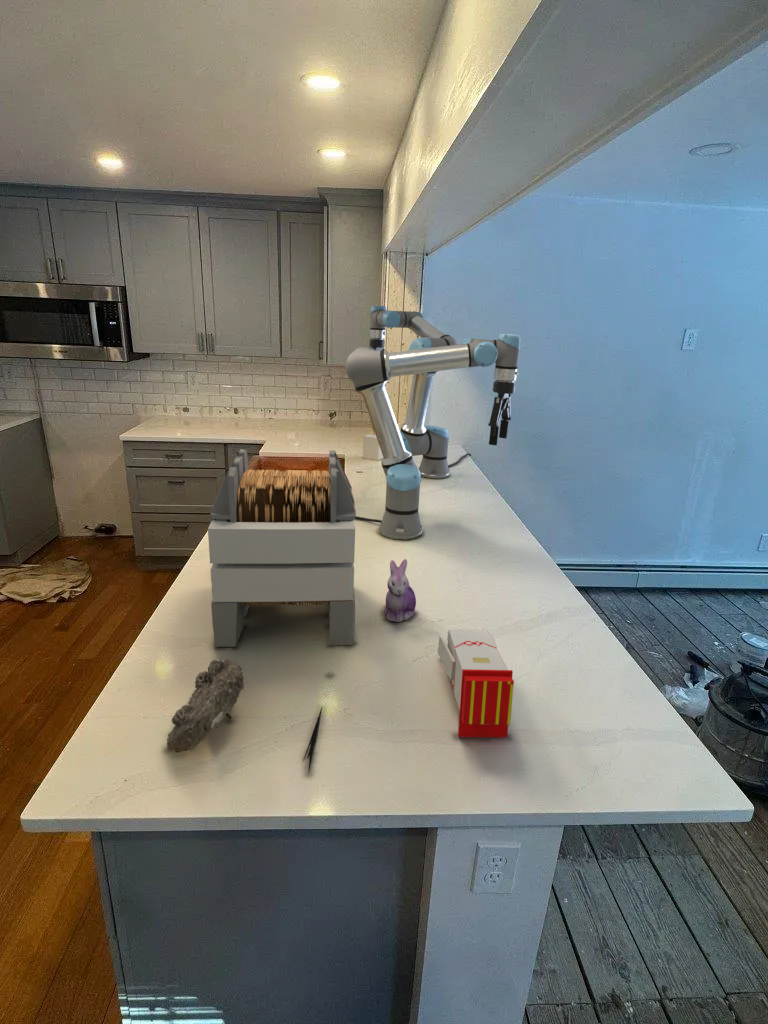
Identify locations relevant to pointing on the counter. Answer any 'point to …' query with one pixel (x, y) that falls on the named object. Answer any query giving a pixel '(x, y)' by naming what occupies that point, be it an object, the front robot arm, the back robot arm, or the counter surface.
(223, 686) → the fossil
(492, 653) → the toy
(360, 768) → the counter surface
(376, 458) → the block
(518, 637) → the counter surface
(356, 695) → the counter surface
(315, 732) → the feather
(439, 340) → the back robot arm
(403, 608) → the figurine
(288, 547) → the transformer
